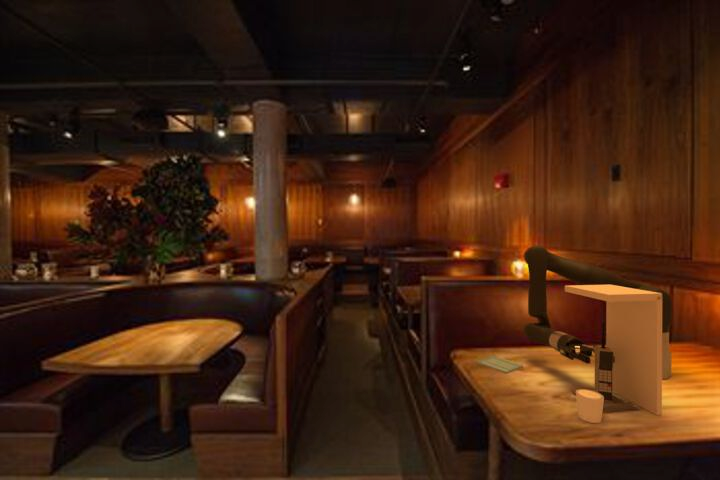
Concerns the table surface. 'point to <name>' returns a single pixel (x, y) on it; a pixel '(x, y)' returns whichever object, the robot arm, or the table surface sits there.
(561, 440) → the table surface
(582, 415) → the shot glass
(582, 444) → the table surface
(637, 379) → the overhang shelf
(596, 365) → the vintage mobile phone
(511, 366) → the pale green flat pad
